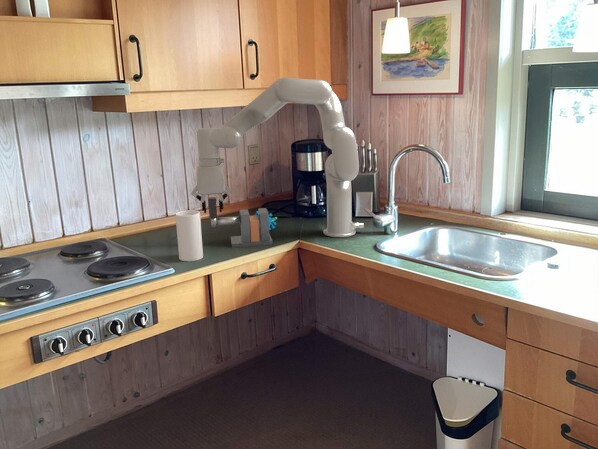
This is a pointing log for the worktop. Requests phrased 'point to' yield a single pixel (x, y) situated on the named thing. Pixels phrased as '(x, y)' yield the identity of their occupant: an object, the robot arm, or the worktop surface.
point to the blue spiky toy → (271, 221)
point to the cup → (189, 235)
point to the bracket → (245, 230)
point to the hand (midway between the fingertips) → (212, 211)
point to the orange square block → (254, 228)
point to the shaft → (222, 220)
